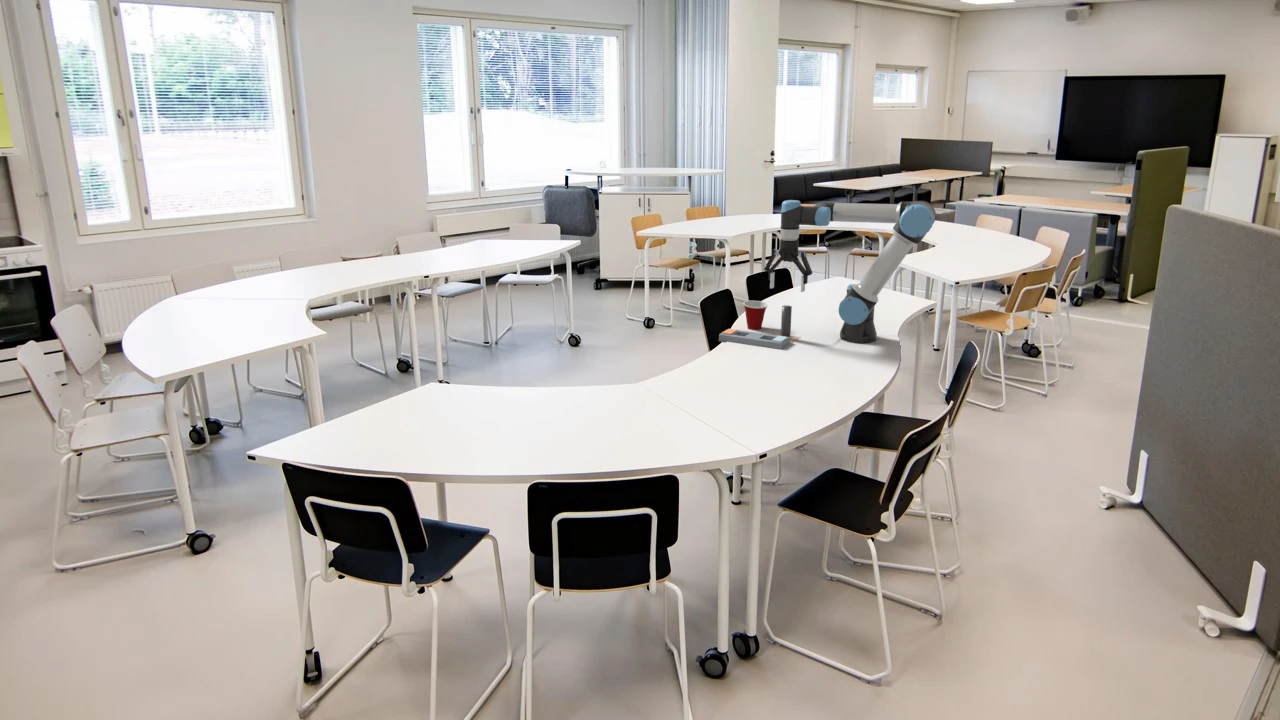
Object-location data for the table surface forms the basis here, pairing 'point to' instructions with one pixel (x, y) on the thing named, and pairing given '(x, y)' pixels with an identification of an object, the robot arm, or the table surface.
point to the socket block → (754, 338)
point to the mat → (792, 338)
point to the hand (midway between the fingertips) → (787, 289)
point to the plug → (786, 321)
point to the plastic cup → (754, 313)
